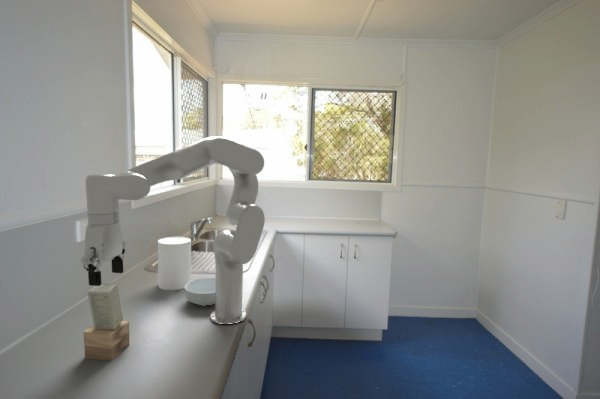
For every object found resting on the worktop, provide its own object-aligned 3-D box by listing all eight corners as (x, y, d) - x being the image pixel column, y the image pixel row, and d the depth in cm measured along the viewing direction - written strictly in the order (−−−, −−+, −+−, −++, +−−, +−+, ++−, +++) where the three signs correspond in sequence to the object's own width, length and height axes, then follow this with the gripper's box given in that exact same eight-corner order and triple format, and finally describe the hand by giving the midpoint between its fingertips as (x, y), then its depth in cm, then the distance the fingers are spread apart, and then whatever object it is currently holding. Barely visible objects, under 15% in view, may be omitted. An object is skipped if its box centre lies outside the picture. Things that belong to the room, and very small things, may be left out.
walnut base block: (104, 343, 101) (104, 330, 101) (129, 345, 100) (129, 333, 100) (84, 358, 93) (84, 345, 93) (111, 361, 92) (111, 348, 92)
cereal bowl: (216, 314, 122) (217, 295, 121) (175, 308, 125) (175, 290, 125) (234, 296, 139) (235, 279, 138) (198, 291, 142) (198, 275, 141)
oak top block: (105, 330, 101) (105, 318, 100) (129, 334, 99) (129, 321, 99) (84, 345, 93) (83, 331, 92) (109, 349, 92) (109, 335, 91)
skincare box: (123, 320, 98) (118, 283, 94) (114, 330, 94) (109, 292, 90) (102, 319, 98) (96, 282, 94) (92, 329, 94) (86, 291, 90)
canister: (169, 292, 139) (169, 245, 137) (152, 284, 147) (151, 240, 145) (197, 284, 150) (197, 240, 147) (179, 276, 158) (179, 235, 155)
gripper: (111, 213, 101) (113, 267, 103) (66, 224, 84) (71, 290, 86) (134, 214, 100) (137, 269, 103) (95, 226, 83) (99, 291, 86)
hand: (107, 278), depth 94 cm, fingers open, 9 cm apart
